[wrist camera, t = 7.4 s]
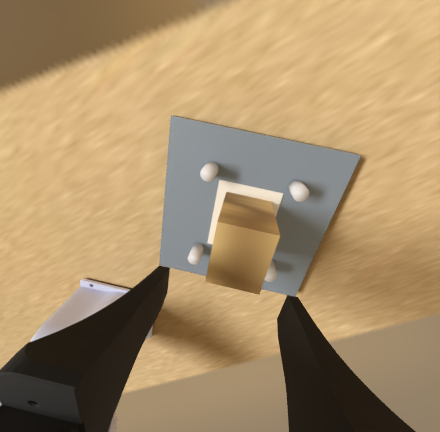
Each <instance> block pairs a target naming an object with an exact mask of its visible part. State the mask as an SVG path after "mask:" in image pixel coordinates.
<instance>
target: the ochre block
mask: <svg viewBox="0 0 440 432" xmlns="http://www.w3.org/2000/svg"><path fill="white" fill-rule="evenodd" d="M279 238H280V232H279V229H278V225H277V221H276V217H275V214H274V210H273V206H272V202H271V201H267V200H262V199H258V198H253V197H249V196H244V195H240V194H235V193H230V192H226V195H225V198H224V201H223V205H222V208H221V211H220V215H219V218H218V221H217V226H216V231H215V236H214V241H213V245H212V250H211V255H210V260H209V265H208V270H207V275H206V280H205V282H208V283H212V284H217V285H221V286H225V287H230V288H234V289H238V290H242V291H247V292H251V293H255V294H260V291H261V288H262V285H263V283H264V280H265V277H266V274H267V271H268V269H269V266H270V263H271V260H272V258H273V255H274V252H275V249H276V247H277V244H278V241H279Z"/></svg>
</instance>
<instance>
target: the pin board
mask: <svg viewBox="0 0 440 432" xmlns="http://www.w3.org/2000/svg"><path fill="white" fill-rule="evenodd" d="M360 157H361V155H358V154H355V153H351V152H346V151H341V150H336V149H331V148H327V147H322V146H317V145H312V144H308V143H303V142H298V141H293V140H289V139H284V138H279V137H274V136H270V135H265V134H260V133H255V132H250V131H246V130H241V129H236V128H231V127H227V126H222V125H217V124H212V123H208V122H203V121H198V120H193V119H189V118H184V117H179V116H171V121H170V134H169V147H168V160H167V173H166V185H165V198H164V211H163V224H162V237H161V250H160V263H159V265H161V266H165V267H170V268H174V269H178V270H182V271H187V272H191V273H195V274H200V275H204V276H206V275H207V270H208V265H209V260H210V255H211V250H212V245H213V241H214V236H215V231H216V226H217V221H218V218H219V215H220V211H221V208H222V205H223V201H224V198H225V195H226V192H230V193H235V194H240V195H244V196H249V197H253V198H258V199H262V200H267V201H271V202H272V206H273V210H274V214H275V217H276V221H277V225H278V229H279V232H280V238H279V241H278V244H277V247H276V249H275V252H274V255H273V258H272V260H271V263H270V266H269V269H268V271H267V274H266V277H265V280H264V283H263V285H262V288H261V289H264V290H268V291H273V292H277V293H281V294H285V295H290V296H294V297H295V296H296V294H297V292H298V290H299V288H300V285H301V283H302V281H303V279H304V277H305V275H306V273H307V270H308V268H309V266H310V264H311V262H312V260H313V257H314V255H315V253H316V251H317V249H318V247H319V245H320V242H321V240H322V238H323V236H324V234H325V232H326V230H327V227H328V225H329V223H330V221H331V219H332V217H333V215H334V212H335V210H336V208H337V206H338V204H339V202H340V200H341V197H342V195H343V193H344V191H345V189H346V187H347V184H348V182H349V180H350V178H351V176H352V174H353V172H354V169H355V167H356V165H357V163H358V161H359V159H360Z"/></svg>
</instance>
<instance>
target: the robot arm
mask: <svg viewBox="0 0 440 432" xmlns="http://www.w3.org/2000/svg"><path fill="white" fill-rule="evenodd" d="M169 270H170V268H168V267H163V266H159V267H157V268H156V269H155V270H154V271H153V272H152V273H151V274H149V275H148V276H147V277H146V278H145V279H144V280H142V281H141V282H140V283H139V284H137V285H136V286H135V287H134V288H132V289H131V290H130V289H126V288H122V287H118V286H114V285H109V284H105V283H101V282H97V281H93V280H88V279H82V280H81V281H80V287H79V288H78V289H77V290H76V291H75V292H74V293H73V294H72V295H71V296H70V297H69V298H68V299H67V300H66V301H65V302H64V303H63V304H62V305H61V306H60V307H59V308H58V309H57V310H56V311H55V312H54V313H53V314H52V315H51V316H50V317H49V318H48V319H47V320H46V321H45V322H44V323H43V325H42V326H41V327H40V328H39V329H38V331H37V332H36V333H35V335H34V336H33V338H32V339H31V341H30V342H29V343H27V344H26V345H25V346H24V347H23V348H22V349H21V350H20V351H18V352H17V353H16V354H15V355H14V356H13V357H12V358H11V359H10V360H9V361H8V363H7V364H6V365H5V366H4V367H3V368H2V369H1V370H0V432H116V429H117V414H116V412H115V410H116V407H117V405H118V402H119V399H120V397H121V394H122V392H123V389H124V387H125V384H126V382H127V379H128V377H129V374H130V372H131V370H132V367H133V365H134V362H135V360H136V358H137V355H138V353H139V351H140V349H141V346H142V344H143V342H144V341H145V339H146V338H151V336H152V330H153V323H154V321H155V319H156V318H157V316H158V314H159V312H160V310H161V307H162V305H163V302H164V300H165V297H166V295H167V289H168V279H169ZM277 323H278V339H279V345H280V352H281V357H282V364H283V370H284V376H285V383H286V392H287V405H288V420H289V432H415V431H414V430H413V429H412V428H410V427H409V426H408V425H407V424H406V423H404V421H403V420H401V419H400V418H399V417H398V416H397V415H396V414H395V413H394V412H392V411H391V410H390V409H389V408H388V407H387V406H386V405H385V404H384V403H383V402H382V401H381V400H380V399H379V398H378V397H377V396H376V395H375V394H374V393H373V392H372V391H370V389H369V388H368V387H367V386H366V385H365V384H364V383H363V382H362V381H361V380H360V379H359V378H358V377H357V376H356V375H355V374H354V373H353V371H352V370H351V369H350V368H349V367H348V366H347V365H346V363H344V361H343V360H342V359H341V358H340V356H339V355H338V354H337V353H336V351H335V350H334V349H333V348H332V346H331V345H330V344H329V342H328V341H327V340H326V338H325V337H324V336H323V334H322V333H321V331H320V330H319V329H318V327H317V326H316V324H315V323H314V321H313V320H312V318H311V317H310V315H309V314H308V312H307V311H306V309H305V307H304V306H303V304H302V303H301V301H300V300H299V298H298V297H294V296H290V295H287V298H286V300H285V302H284V305H283V307H282V309H281V311H280V314H279V316H278V318H277Z"/></svg>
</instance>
